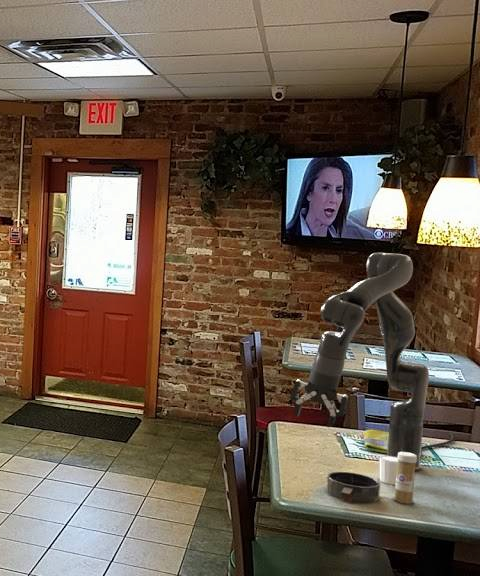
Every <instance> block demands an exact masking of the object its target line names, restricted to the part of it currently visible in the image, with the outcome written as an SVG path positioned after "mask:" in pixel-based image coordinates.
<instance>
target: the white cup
mask: <svg viewBox="0 0 480 576" xmlns="http://www.w3.org/2000/svg"><path fill="white" fill-rule="evenodd" d="M397 458H398V457H394V456H386V455H379V482H380V483H384V484H388V485H392V486H393V485H394V486H395V485H396V476H397V467H398V459H397Z"/></svg>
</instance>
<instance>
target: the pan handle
mask: <svg viewBox="0 0 480 576" xmlns="http://www.w3.org/2000/svg"><path fill="white" fill-rule="evenodd" d="M340 500H342V502H345V503H351V504H352V503H354V502H353V488H349V487H344V489H343V490H342V491H341V499H340Z"/></svg>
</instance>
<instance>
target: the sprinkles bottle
mask: <svg viewBox="0 0 480 576" xmlns="http://www.w3.org/2000/svg"><path fill="white" fill-rule="evenodd" d="M397 459H398V467H397V476H396V485H394V487H395V490H394V497H393V499H394V501H396V502H397V503H400V504H407V505H410V504H412V503H413V502H414V500H413V498H414V489H415V476H416V470H415V464H416V462H417V456H416V455H415V454H412V453H408V452H399V453H398V458H397Z"/></svg>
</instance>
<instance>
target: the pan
mask: <svg viewBox="0 0 480 576" xmlns="http://www.w3.org/2000/svg"><path fill="white" fill-rule="evenodd" d="M344 487H349V488H353V502H352V503H361V504H369V503H375V502H377V501H378V500H379V499H380V494H381V482H380V480H377V479H375V478H374V477H371V476H368V475H365V474H361V473H356V472H350V471H332V472H329V473H328V474H327V476H326V487H325V488H326V491H327V492H328V493H329V494H330V495H331V496H333V497H334V498H337V499H340V500H342V499H341V491H342V490H343V489H344Z"/></svg>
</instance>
